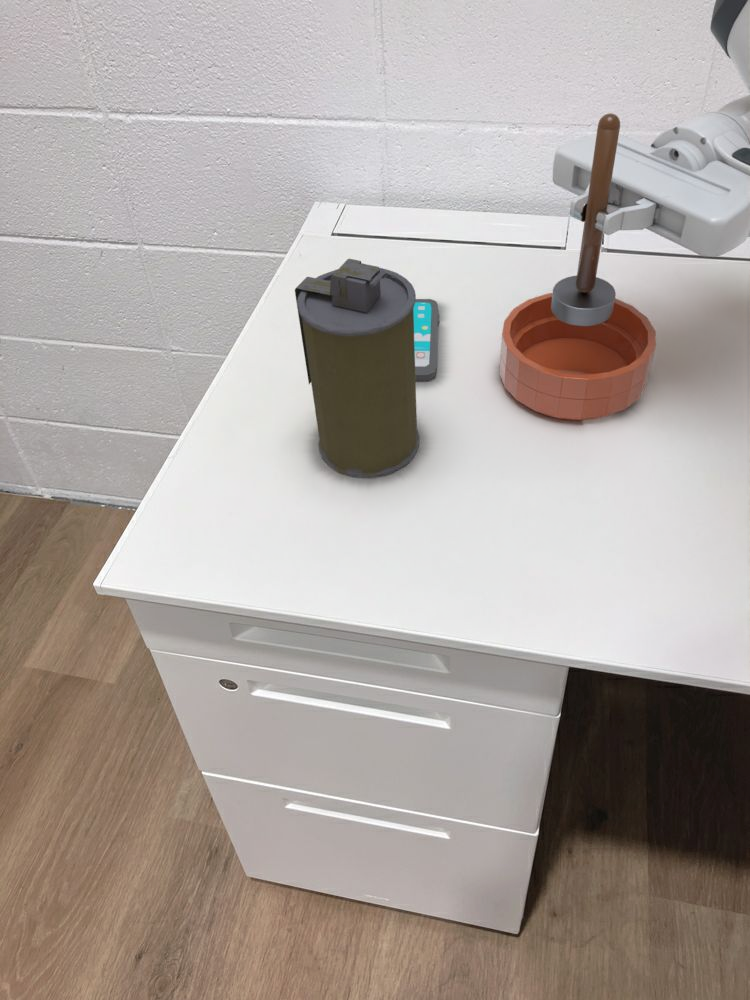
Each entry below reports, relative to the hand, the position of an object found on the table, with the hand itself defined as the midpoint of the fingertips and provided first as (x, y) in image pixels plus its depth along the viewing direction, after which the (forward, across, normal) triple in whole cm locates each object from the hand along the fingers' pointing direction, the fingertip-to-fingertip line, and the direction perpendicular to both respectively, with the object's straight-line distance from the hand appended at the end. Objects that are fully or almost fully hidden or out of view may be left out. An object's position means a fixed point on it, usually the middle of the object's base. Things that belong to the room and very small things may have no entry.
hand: (588, 218), depth 72 cm
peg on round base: (-1, 0, +10) cm, 10 cm away
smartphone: (+8, -18, +20) cm, 28 cm away
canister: (+21, -7, +20) cm, 30 cm away
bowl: (-2, -1, +20) cm, 20 cm away
